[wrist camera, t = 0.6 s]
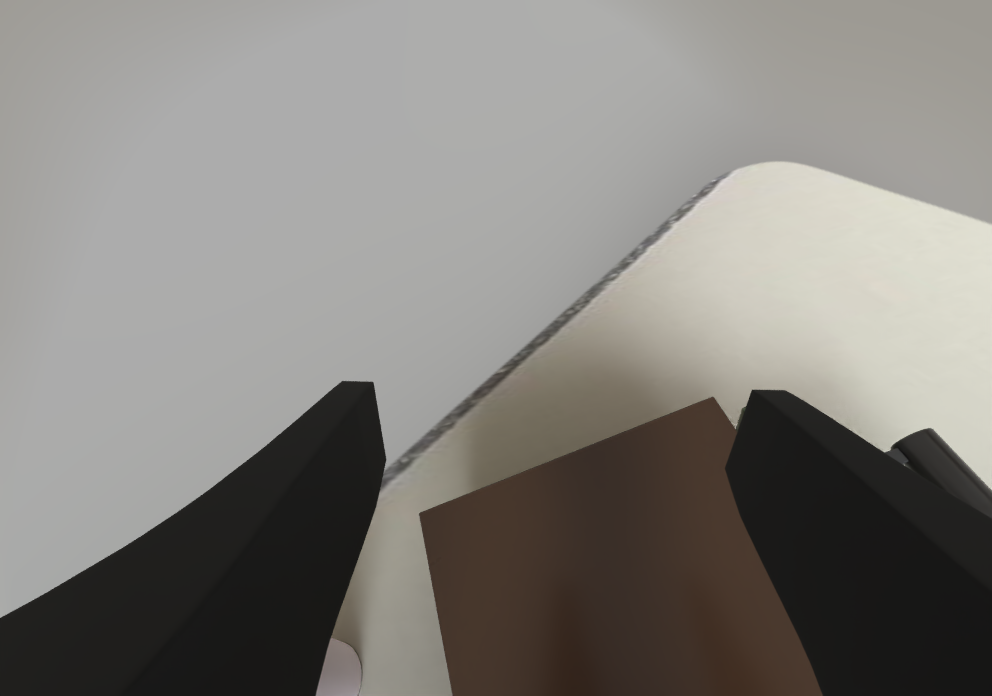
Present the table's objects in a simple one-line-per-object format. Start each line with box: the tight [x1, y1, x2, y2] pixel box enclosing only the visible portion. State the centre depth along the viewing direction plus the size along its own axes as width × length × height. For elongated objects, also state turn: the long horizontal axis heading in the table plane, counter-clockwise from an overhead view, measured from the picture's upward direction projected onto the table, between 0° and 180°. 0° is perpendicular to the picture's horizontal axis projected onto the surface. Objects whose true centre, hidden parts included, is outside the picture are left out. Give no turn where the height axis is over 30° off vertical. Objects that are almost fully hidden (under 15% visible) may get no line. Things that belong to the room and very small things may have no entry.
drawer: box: [736, 407, 992, 518], centre depth 19 cm, size 18×12×6 cm
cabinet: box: [419, 397, 823, 696], centre depth 19 cm, size 14×14×8 cm
